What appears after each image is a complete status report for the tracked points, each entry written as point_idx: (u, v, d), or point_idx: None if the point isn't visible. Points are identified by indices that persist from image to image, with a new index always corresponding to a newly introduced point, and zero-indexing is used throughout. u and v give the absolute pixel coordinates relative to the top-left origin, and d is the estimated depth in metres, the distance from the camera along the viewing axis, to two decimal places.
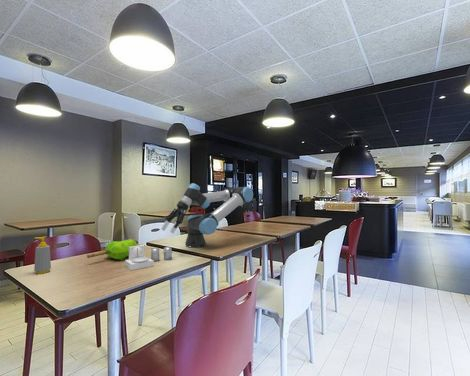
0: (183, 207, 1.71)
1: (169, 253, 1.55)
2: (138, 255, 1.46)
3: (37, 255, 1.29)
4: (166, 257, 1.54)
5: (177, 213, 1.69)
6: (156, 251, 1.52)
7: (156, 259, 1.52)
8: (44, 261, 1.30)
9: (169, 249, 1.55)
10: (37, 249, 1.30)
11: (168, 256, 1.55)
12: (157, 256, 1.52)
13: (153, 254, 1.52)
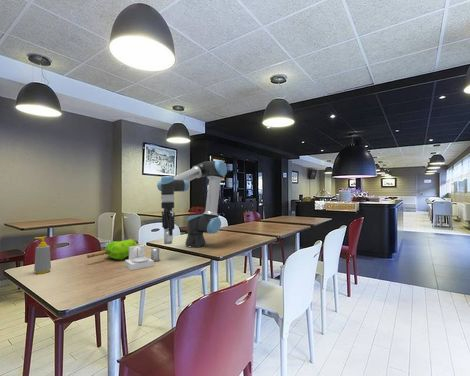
0: (169, 207, 1.54)
1: None
2: (138, 255, 1.46)
3: (37, 255, 1.29)
4: (167, 241, 1.55)
5: (166, 217, 1.55)
6: (156, 251, 1.52)
7: (156, 259, 1.52)
8: (44, 261, 1.30)
9: None
10: (37, 249, 1.30)
11: None
12: (157, 256, 1.52)
13: (153, 254, 1.52)
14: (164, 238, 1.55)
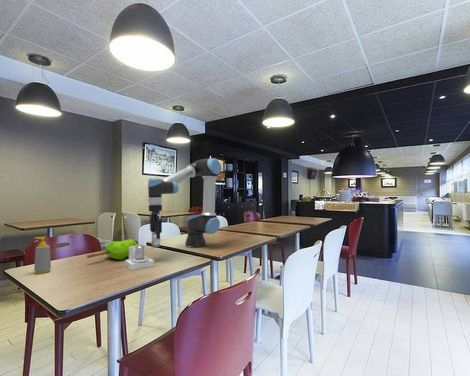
0: (156, 210, 1.51)
1: (135, 252, 1.41)
2: None
3: (37, 255, 1.29)
4: None
5: (153, 220, 1.52)
6: None
7: (157, 245, 1.52)
8: (44, 261, 1.30)
9: (135, 248, 1.41)
10: (37, 249, 1.30)
11: (135, 255, 1.41)
12: None
13: (153, 240, 1.52)
14: None
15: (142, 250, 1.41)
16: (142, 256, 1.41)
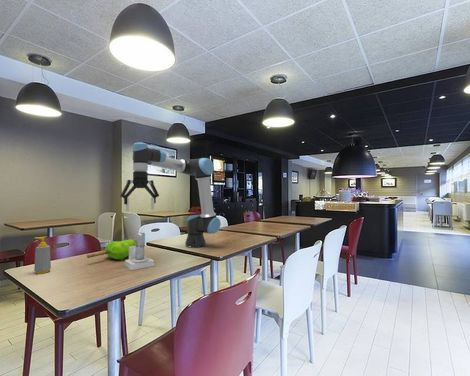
0: (133, 177, 1.41)
1: (135, 252, 1.41)
2: None
3: (37, 255, 1.29)
4: None
5: None
6: (136, 235, 1.41)
7: (136, 244, 1.41)
8: (44, 261, 1.30)
9: (135, 247, 1.41)
10: (37, 249, 1.30)
11: (135, 255, 1.41)
12: (136, 241, 1.40)
13: None
14: None
15: (142, 250, 1.41)
16: (142, 256, 1.41)
